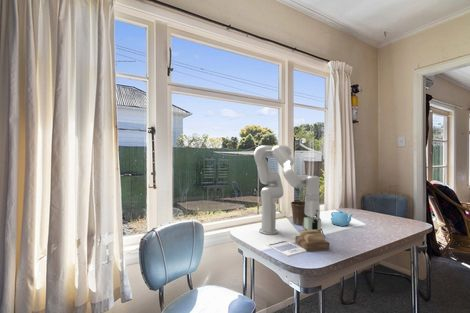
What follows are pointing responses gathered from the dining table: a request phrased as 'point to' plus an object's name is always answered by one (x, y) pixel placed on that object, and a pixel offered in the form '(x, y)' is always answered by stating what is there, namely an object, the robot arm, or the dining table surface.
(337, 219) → the teapot
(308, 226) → the sage brick
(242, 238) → the dining table surface
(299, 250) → the photo frame
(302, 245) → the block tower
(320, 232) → the lion figurine
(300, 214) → the plant pot
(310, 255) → the dining table surface
